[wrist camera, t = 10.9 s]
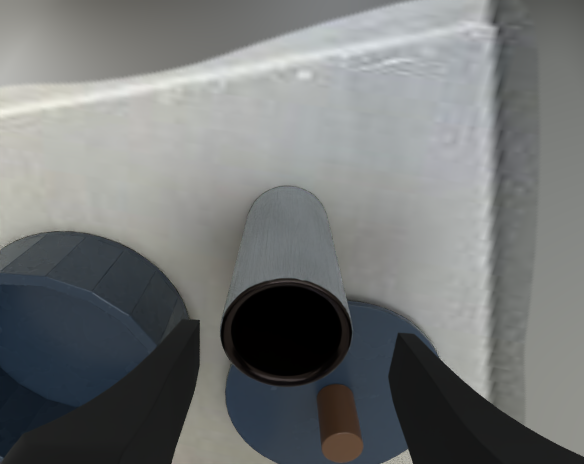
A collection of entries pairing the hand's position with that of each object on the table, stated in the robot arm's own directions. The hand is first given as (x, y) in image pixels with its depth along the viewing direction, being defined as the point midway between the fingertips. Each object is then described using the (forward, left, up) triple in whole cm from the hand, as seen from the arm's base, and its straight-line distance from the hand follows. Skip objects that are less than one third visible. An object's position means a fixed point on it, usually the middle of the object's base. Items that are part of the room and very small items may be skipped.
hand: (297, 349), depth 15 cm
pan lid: (-11, -4, -9) cm, 14 cm away
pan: (-7, +12, -10) cm, 17 cm away
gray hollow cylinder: (+1, 0, -10) cm, 10 cm away
